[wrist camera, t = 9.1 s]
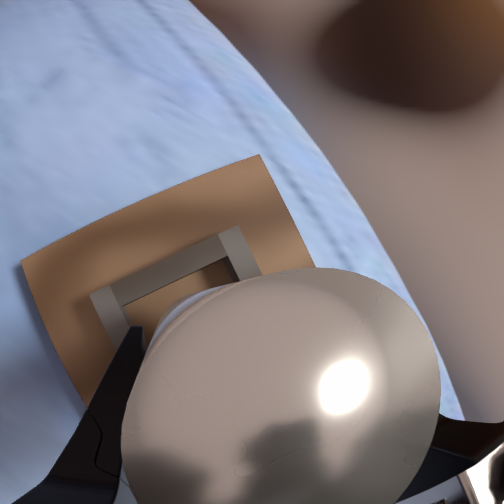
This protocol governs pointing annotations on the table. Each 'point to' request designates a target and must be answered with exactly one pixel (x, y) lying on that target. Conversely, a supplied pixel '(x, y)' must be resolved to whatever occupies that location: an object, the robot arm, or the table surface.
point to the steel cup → (283, 395)
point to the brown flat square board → (158, 261)
